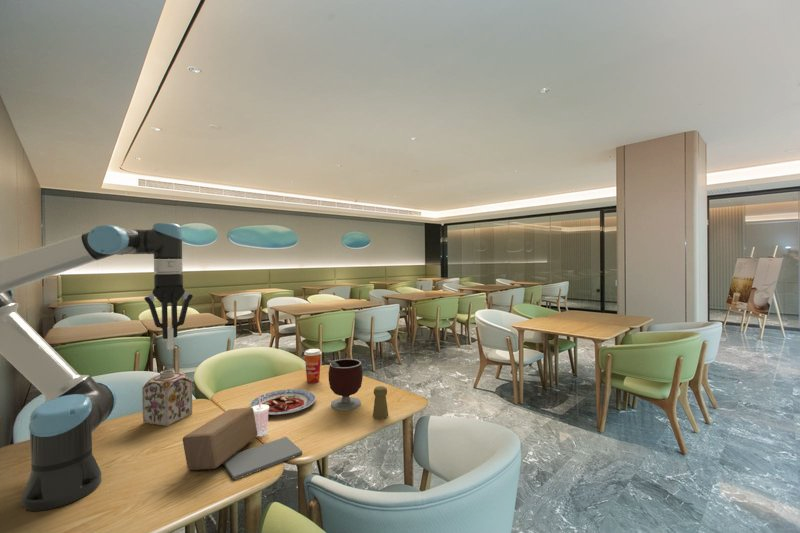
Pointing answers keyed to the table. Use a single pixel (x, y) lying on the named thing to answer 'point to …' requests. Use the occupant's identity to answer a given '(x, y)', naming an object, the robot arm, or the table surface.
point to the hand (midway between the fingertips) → (170, 348)
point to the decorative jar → (167, 398)
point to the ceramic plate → (285, 401)
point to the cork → (380, 402)
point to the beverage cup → (261, 418)
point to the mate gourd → (345, 382)
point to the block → (219, 438)
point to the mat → (261, 457)
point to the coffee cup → (312, 365)
